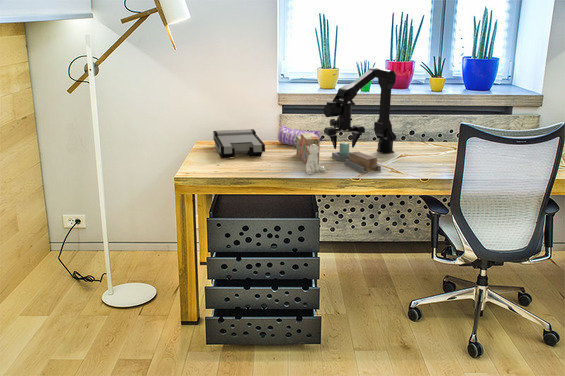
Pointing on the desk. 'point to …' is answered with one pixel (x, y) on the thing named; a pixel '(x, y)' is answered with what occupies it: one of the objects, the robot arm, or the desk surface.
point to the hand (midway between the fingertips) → (344, 148)
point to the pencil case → (292, 135)
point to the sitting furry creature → (314, 161)
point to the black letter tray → (238, 143)
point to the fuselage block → (364, 161)
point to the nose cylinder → (344, 149)
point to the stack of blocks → (304, 141)
